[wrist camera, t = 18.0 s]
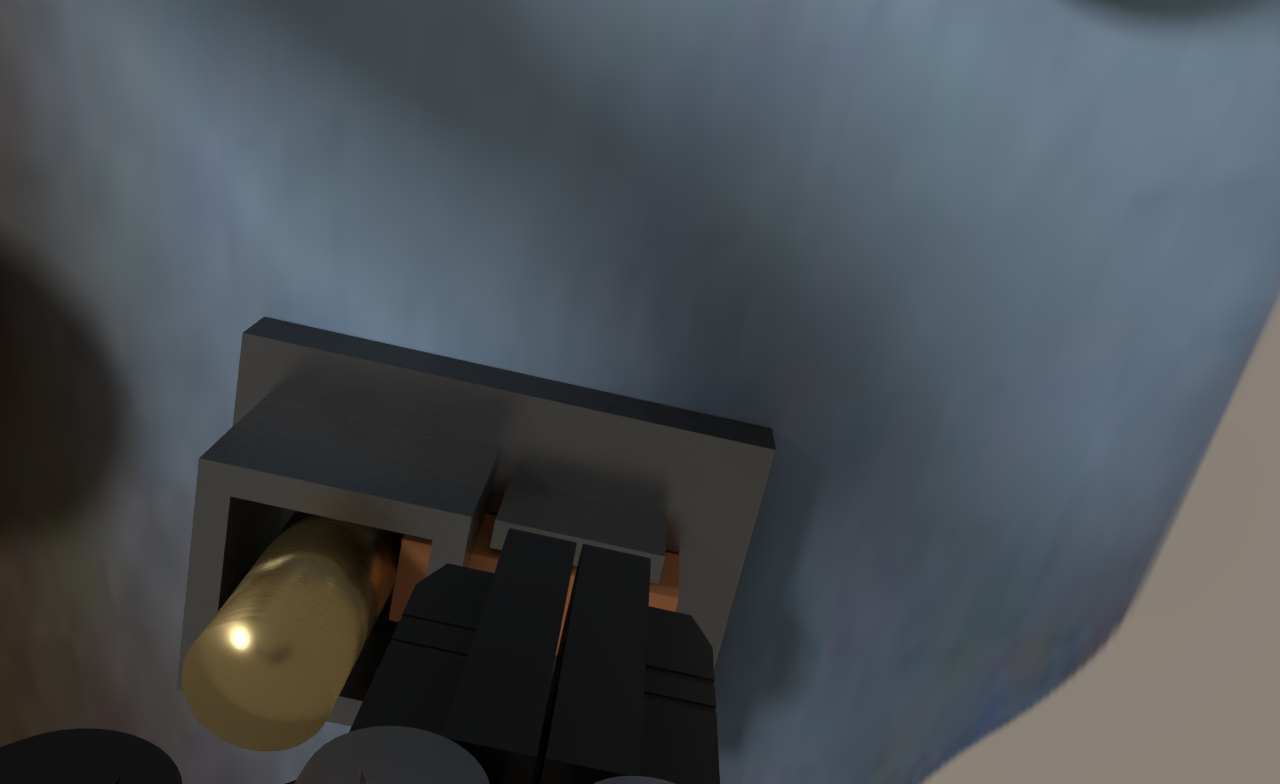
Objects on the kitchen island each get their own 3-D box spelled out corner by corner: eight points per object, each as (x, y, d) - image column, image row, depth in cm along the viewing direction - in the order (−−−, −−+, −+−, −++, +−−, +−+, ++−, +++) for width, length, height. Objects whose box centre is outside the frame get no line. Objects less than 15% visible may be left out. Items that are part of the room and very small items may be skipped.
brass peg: (298, 561, 40) (177, 735, 30) (309, 458, 38) (186, 607, 29) (410, 583, 40) (324, 763, 30) (425, 481, 39) (341, 636, 29)
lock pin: (409, 575, 40) (388, 619, 37) (423, 499, 39) (402, 539, 36) (660, 629, 40) (658, 676, 37) (679, 554, 39) (679, 598, 36)
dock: (230, 614, 43) (140, 736, 36) (264, 316, 39) (170, 386, 32) (692, 712, 43) (694, 850, 36) (771, 428, 40) (790, 521, 32)
